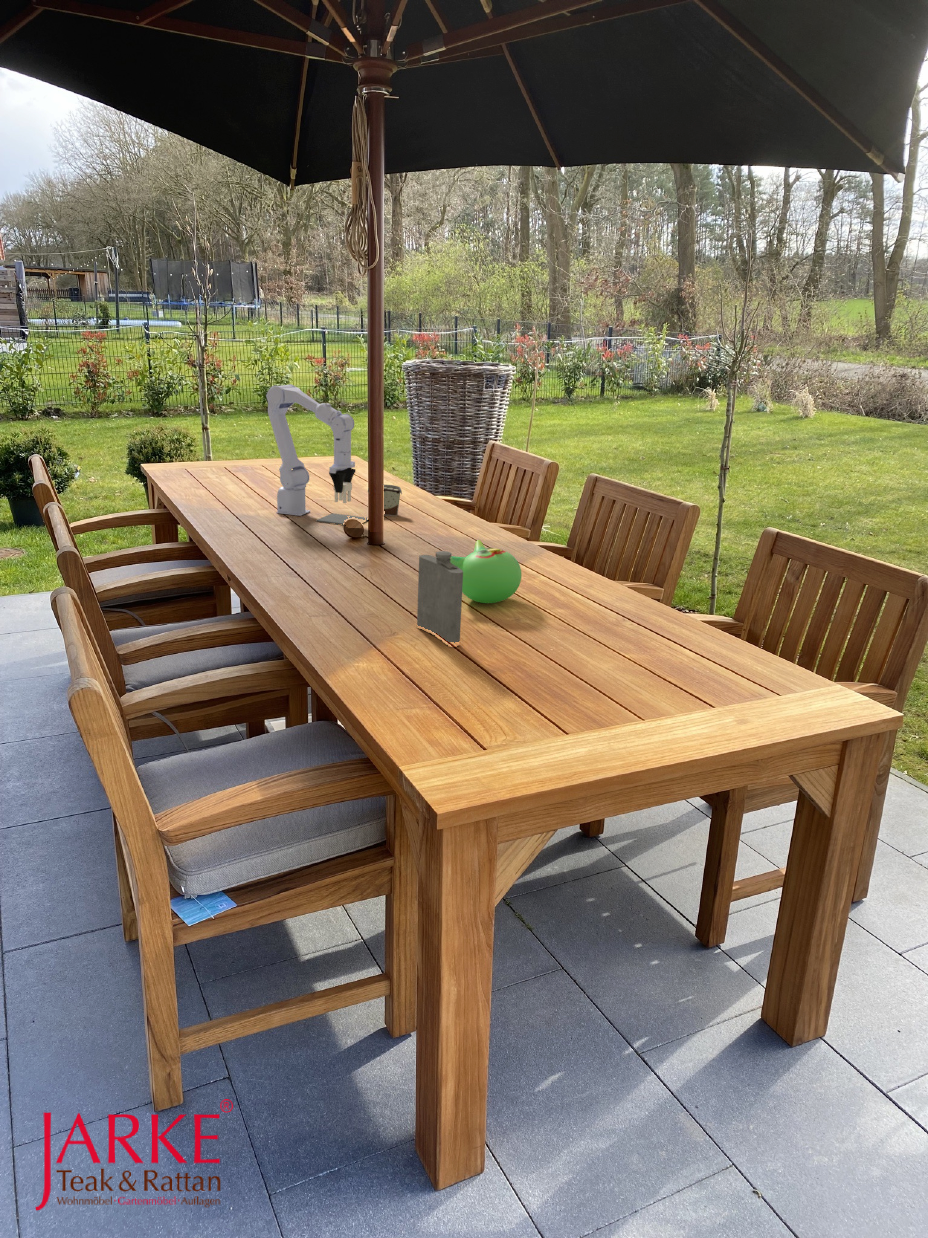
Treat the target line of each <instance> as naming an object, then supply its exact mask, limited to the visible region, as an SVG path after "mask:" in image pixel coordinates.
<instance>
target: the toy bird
mask: <svg viewBox="0 0 928 1238" xmlns="http://www.w3.org/2000/svg"><path fill="white" fill-rule="evenodd" d="M450 559H451V560H450V563H452V564H453V565H455V566H457V567H458V568H460V569H461V570H463V585H462V594H464V595H465V597H467V598H468V599H470V600H471V601H474V602H477V603H481V604H494V603H495V604H496V603H499V602H503V601H505V600H508V599H509V598H510V597H512V596H513V595H514V594H515V593H516V592H517V590H518V589H519V587H520V584H521V582H522V569H521V568H522V567H521V565H520V563H519V561H518V559H517V558H515V556H514V555H513V554H511V553H510V552H508V551H506V550H503V549H501V548H494V547H485V545H484V544H483V542H482V541H481V540H480V539H477V540H476V541H475V544H474V549H473V552H471V553H469V554H468V555H466V556H455V555H454V556H453V555H451V558H450Z"/></svg>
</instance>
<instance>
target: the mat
mask: <svg viewBox="0 0 928 1238" xmlns="http://www.w3.org/2000/svg"><path fill="white" fill-rule="evenodd" d="M347 516H350V517H349V518H352V517H355V518H358V519H363V520H365V518H364V517H365V516H359V515H358V516H356V515H349V514H342V513H341V514H340V513H334V512H332V513H330V514H327V515H326V516H325V515H324V516H323V517H321V518H318V519H316V521H315V522H316V523H322V522H325V523H324V524H330V523H335V524H334V525H338V524H342V525H341V526H344V525H343V523H344V520H346V519H348V517H347ZM367 518H368V517H366V521H367ZM367 522H368V521H367Z"/></svg>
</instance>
